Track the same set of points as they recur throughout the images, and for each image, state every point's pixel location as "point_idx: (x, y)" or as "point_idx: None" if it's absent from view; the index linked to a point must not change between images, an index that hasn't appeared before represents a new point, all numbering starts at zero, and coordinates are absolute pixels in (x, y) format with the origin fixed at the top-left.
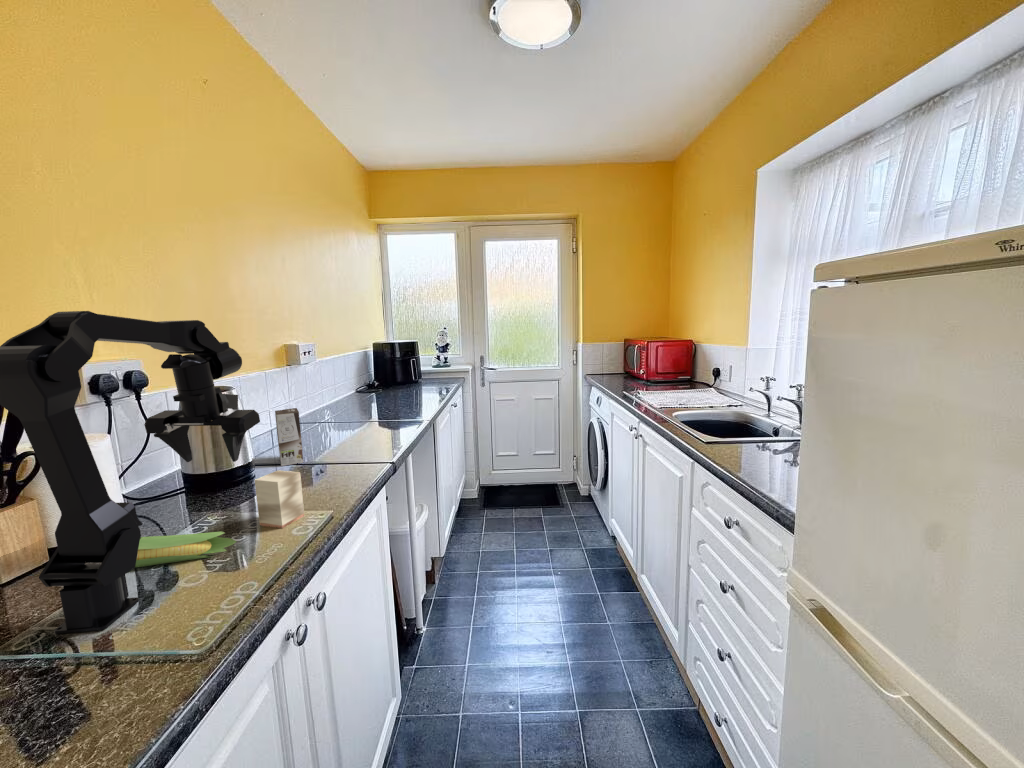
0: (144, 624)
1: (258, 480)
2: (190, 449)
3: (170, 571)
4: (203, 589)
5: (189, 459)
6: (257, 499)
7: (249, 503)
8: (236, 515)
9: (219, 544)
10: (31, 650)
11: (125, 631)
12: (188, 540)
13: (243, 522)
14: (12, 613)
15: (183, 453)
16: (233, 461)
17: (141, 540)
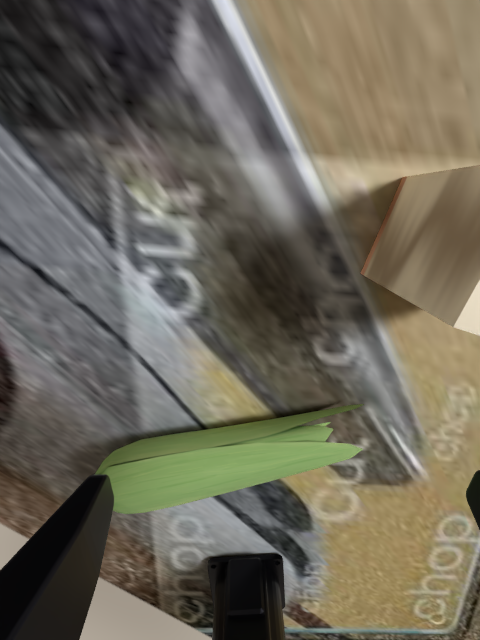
0: (333, 593)
1: (476, 333)
2: (62, 571)
3: None
4: (374, 530)
5: (108, 509)
6: (403, 297)
7: (212, 52)
8: (231, 184)
9: (322, 411)
10: None
11: (316, 602)
12: (280, 475)
13: (293, 248)
14: None
15: (82, 624)
16: (471, 501)
17: (167, 497)
